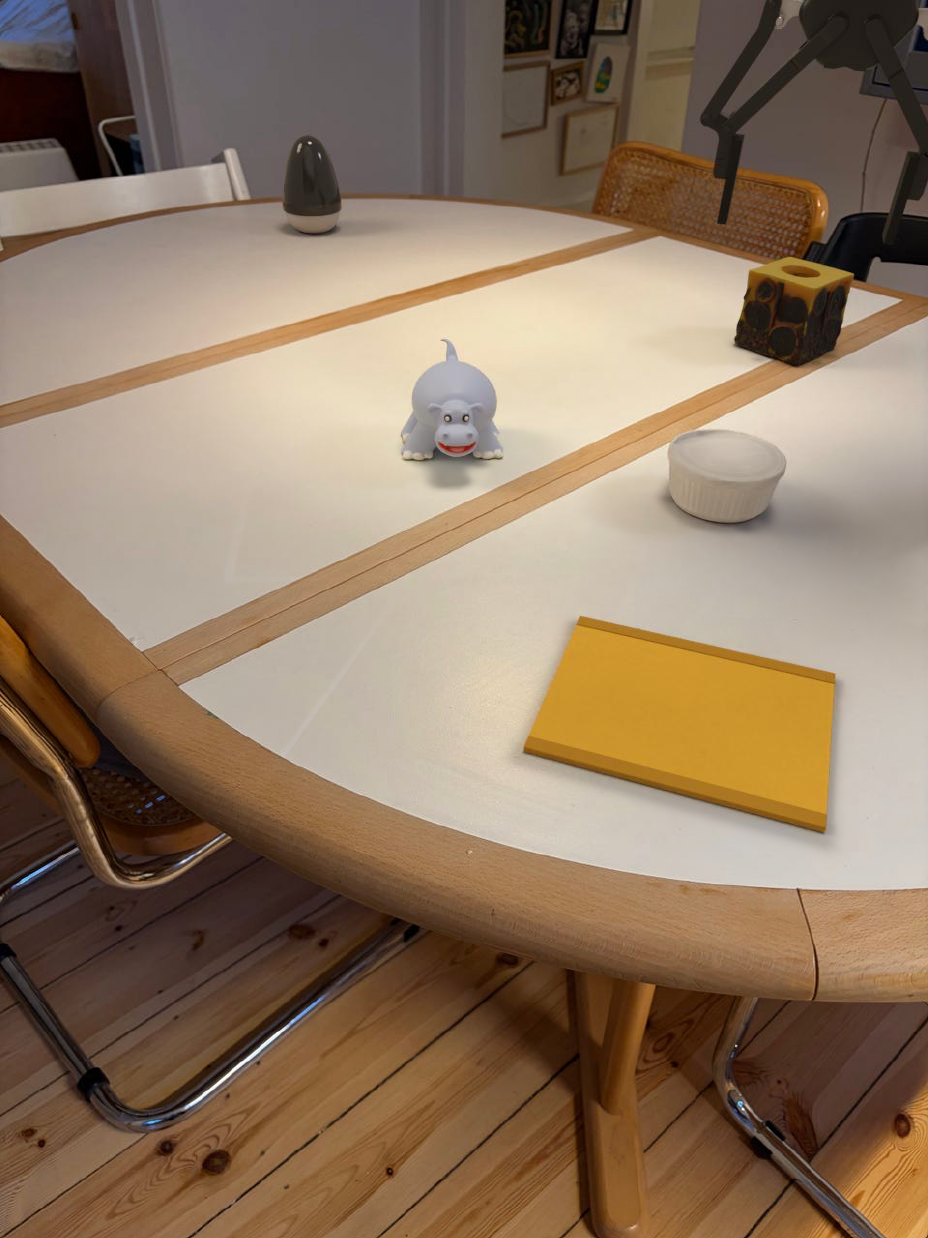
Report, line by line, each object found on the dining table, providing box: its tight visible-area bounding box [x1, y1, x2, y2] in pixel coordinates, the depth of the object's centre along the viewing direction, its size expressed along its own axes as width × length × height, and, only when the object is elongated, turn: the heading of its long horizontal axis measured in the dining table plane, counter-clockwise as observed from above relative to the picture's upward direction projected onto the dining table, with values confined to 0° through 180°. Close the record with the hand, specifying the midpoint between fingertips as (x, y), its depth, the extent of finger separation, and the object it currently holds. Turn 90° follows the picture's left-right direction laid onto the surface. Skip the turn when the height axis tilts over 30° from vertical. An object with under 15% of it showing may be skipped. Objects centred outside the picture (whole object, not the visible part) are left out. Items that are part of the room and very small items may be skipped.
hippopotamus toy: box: [400, 338, 504, 461], centre depth 97 cm, size 11×15×10 cm
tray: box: [522, 615, 837, 833], centre depth 68 cm, size 20×16×1 cm
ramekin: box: [667, 428, 787, 524], centre depth 91 cm, size 11×11×5 cm
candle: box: [733, 256, 855, 366], centre depth 122 cm, size 10×10×10 cm
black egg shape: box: [282, 133, 343, 235], centre depth 161 cm, size 10×10×15 cm
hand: (803, 230), depth 79 cm, fingers open, 13 cm apart
